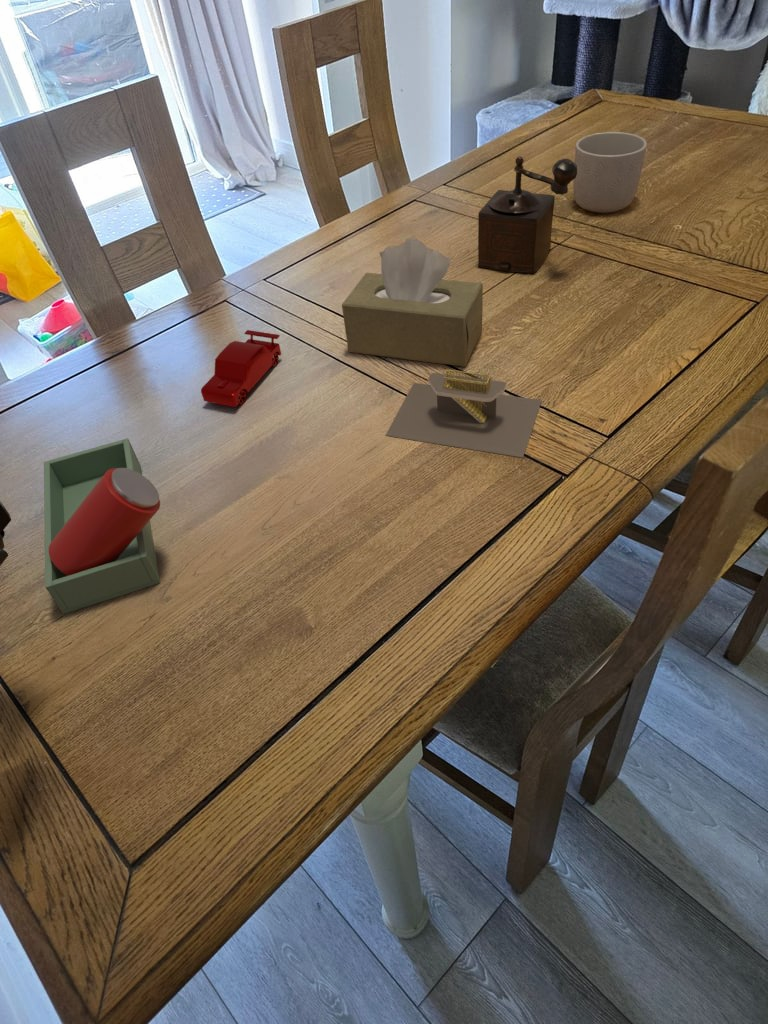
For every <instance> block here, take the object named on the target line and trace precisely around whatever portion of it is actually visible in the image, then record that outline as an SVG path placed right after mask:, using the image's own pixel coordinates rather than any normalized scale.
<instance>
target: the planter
mask: <svg viewBox="0 0 768 1024" xmlns="http://www.w3.org/2000/svg"><path fill="white" fill-rule="evenodd" d="M647 147H648V141H646V139H644V138H643V137H642V136H640V135H637V134H635V133H631V132H630V133H629V132H623V131H622V132H621V131H603V132H597V133H596V132H595V133H593V134H588V135H585V136H583V137H581V138H579V139H578V140H577V141H576V143H575V151H574V161H573V162H574V163H575V164H576V165H577V175H576V178H575V179H573V180H572V181H573V183H572V186H573V187H572V188H573V191H572V193H573V199H574V201H575V203H576V204H577V205H578V207H580V209H583V210H586V211H588V212H592V213H601V214H605V213H606V214H607V213H613V212H618V211H622V210H624V209H625V208H627V207H628V206H629V205H631V203H633V201H634V199H635V197H636V194H637V191H638V189H639V185H640V181H641V176H642V172H643V168H644V163H645V157H646V151H647Z"/></svg>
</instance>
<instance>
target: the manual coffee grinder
mask: <svg viewBox="0 0 768 1024" xmlns="http://www.w3.org/2000/svg"><path fill="white" fill-rule="evenodd" d="M514 162H515V166H514V168H513V171H514V172H515V184H514V189H511V190H504V189H498V190H497V191H495V193H494V194H493V196H491V198H490V199H489V200H488V201H487V202H486V203H485V204H484V206H483V207H482V208H481V209H480V210H479V212H478V215H477V219H478V222H477V223H478V225H477V228H478V230H477V231H478V232H477V234H478V236H477V246H478V247H477V252H478V253H477V254H478V255H477V257H478V259H477V261H478V262H477V267H478V268H482V269H489V270H495V271H500V272H508V273H509V272H513V273H521V274H523V273H524V274H526V273H527V274H529V273H530V274H534V273H536V272H537V271H538V270H539V269H540V268H541V267H542V265H543V263H544V262H545V261H546V259H547V257H548V255H549V252H550V249H551V247H552V229H553V220H554V211H555V210H554V208H555V198H556V195H560V196H561V195H562V196H563V195H565V194H568V191H569V187H568V186H569V184H570V183H571V182H572V181H573V179H575V178H576V175H577V165H576V164H575V163H574V162H575V161H573V160H572V159H569V158H561V159H558V160H557V161H556V162H555V163H554V165H553V166H552V170H551V171H552V175H553V178H554V179H553V178H552V177H549V176H547V175H542V174H540V173H536V172H533V171H530V170H527V169H525V168H524V162H525V160H524V158H523V157H522V156H517V157H516V158H515V161H514ZM522 175H523V176H525V177H527V178H530V179H532V180H536V181H539V182H542V183H546V184H548V185H550V190H551V192H553V193H554V194H555V195H554V194H547V193H538V192H537V193H536V192H531V191H529V190H525V189H522Z"/></svg>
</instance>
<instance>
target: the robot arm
mask: <svg viewBox="0 0 768 1024" xmlns="http://www.w3.org/2000/svg"><path fill="white" fill-rule="evenodd" d="M11 522H12V518H11V514H10V513H9V512H8V510H7V509H6V507H5V506H4V504H3V503H2V501H1V500H0V567H1V566H2V565H3V563H4V562H5V561H6V560H7V558H8V557H9V553H8V552H7V551H6V550H5V549H4V548H6V547H5V542H4V538H5V535H6V533H5V529H6V527H7V526H9V525H10V523H11Z"/></svg>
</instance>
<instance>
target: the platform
mask: <svg viewBox="0 0 768 1024" xmlns="http://www.w3.org/2000/svg"><path fill="white" fill-rule="evenodd" d="M491 377H492V376H491V374H486V373H485V374H484V373H479V372H470V371H463V370H454V369H445V373H438V372H431V373H430V374H429V376H428V379H427V381H428V382H427V383H428V384H425V383H419V382H413V383H412V385H411V388H410V389H409V391H408V393H407V395H406V396H405V398H404V400H403V401H402V404H401V406H400V407H399V410H398V411H397V413H396V415H395V417H394V419H393V420H392V422H391V424H390V426H389V428H388V430H387V431H386V434H385V436H387V437H392V438H399V439H405V440H411V441H416V442H422V443H423V442H424V443H430V444H436V445H442V446H447V447H454V448H462V449H467V450H472V451H480V452H485V453H491V454H498V455H504V456H510V457H517V458H524V456H525V453H526V450H527V447H528V445H529V441H530V438H531V435H532V432H533V429H534V426H535V422H536V420H537V416H538V413H539V411H540V408H541V405H542V401H543V400H542V399H536V398H529V397H522V396H514V395H506V394H504V392H505V390H506V388H507V383H506V382H505V381H500V380H493V379H491Z"/></svg>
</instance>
